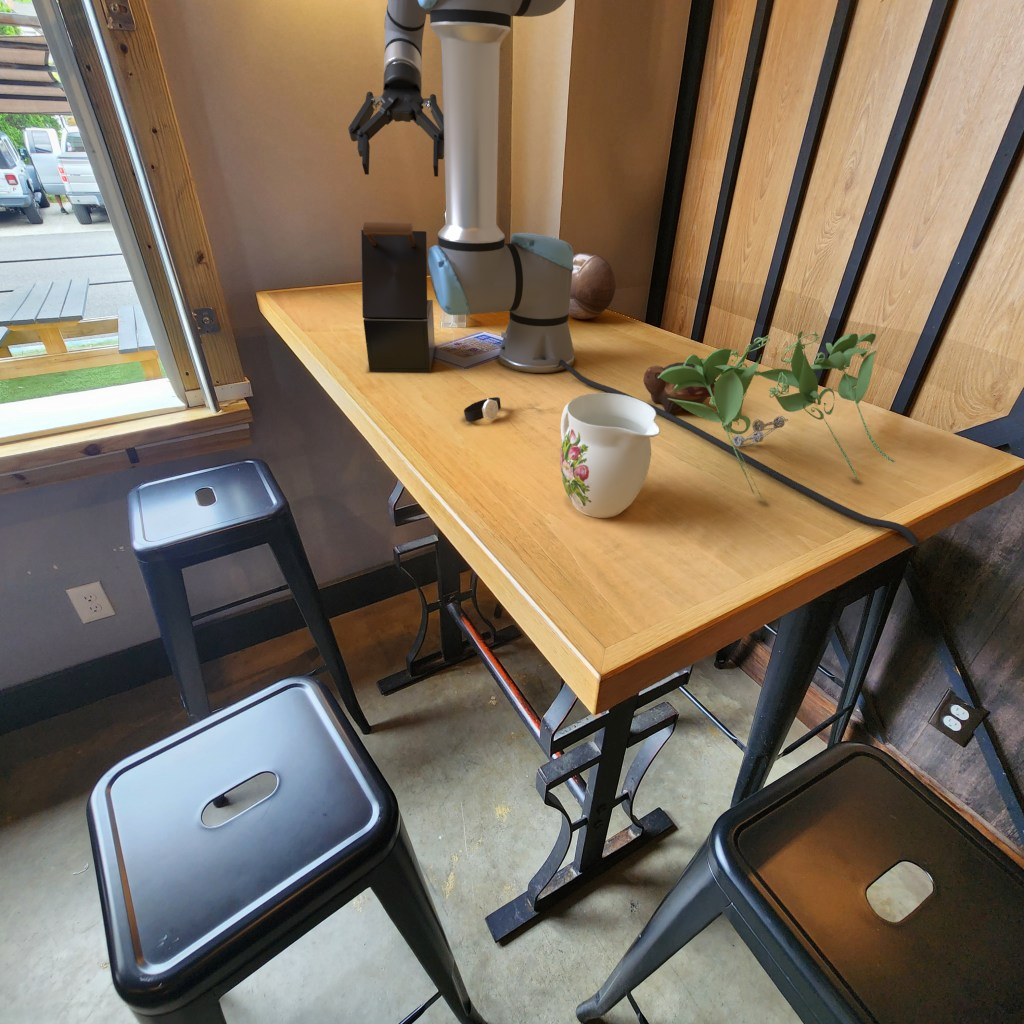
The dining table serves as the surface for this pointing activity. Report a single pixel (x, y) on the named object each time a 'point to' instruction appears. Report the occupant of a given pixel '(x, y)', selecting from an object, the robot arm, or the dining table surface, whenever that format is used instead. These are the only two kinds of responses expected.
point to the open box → (400, 343)
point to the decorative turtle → (664, 390)
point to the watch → (483, 409)
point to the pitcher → (605, 451)
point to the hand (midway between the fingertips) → (400, 170)
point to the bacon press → (393, 271)
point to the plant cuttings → (802, 376)
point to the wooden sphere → (590, 286)
